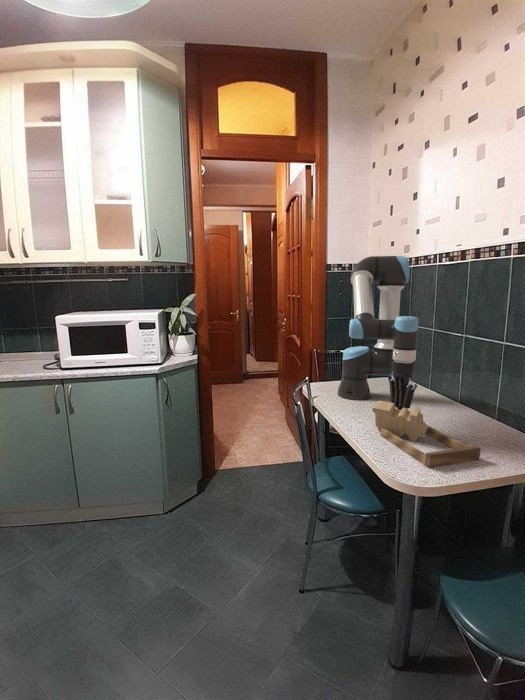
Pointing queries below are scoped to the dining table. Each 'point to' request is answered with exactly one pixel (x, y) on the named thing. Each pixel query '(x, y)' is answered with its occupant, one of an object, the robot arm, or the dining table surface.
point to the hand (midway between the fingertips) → (398, 424)
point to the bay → (438, 458)
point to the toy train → (399, 420)
